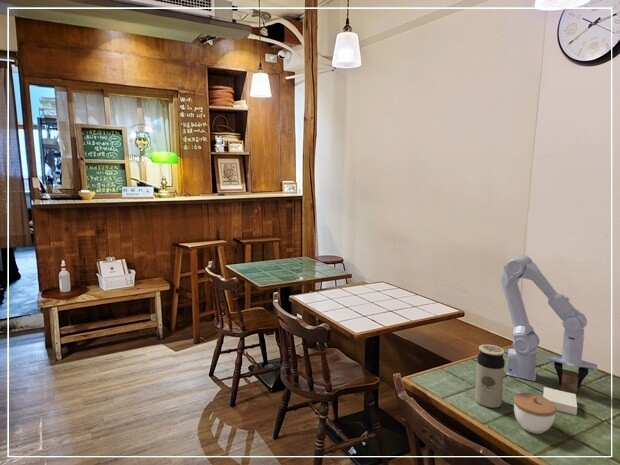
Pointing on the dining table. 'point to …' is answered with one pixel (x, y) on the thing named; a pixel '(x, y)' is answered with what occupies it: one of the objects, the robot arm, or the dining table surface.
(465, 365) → the dining table surface
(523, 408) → the lidded jar
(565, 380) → the walnut block
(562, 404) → the cream tile block
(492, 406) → the travel mug
